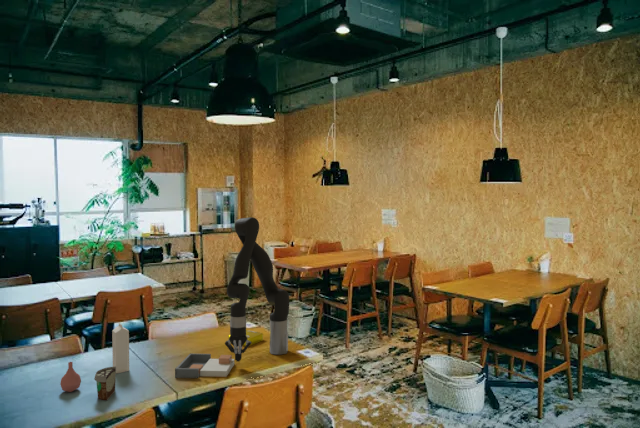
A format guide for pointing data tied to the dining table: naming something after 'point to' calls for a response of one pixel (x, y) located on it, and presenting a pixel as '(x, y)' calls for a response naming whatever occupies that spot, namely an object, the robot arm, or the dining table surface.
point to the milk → (120, 348)
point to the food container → (105, 382)
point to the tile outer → (197, 366)
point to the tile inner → (225, 359)
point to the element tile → (252, 337)
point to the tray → (184, 367)
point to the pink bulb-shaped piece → (70, 379)
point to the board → (216, 368)
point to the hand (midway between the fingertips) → (238, 361)
